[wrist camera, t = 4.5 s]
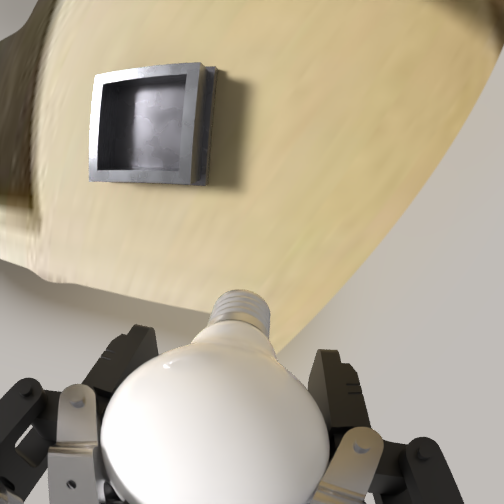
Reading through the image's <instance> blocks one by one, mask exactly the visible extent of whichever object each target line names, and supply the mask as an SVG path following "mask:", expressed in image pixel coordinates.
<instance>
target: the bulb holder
mask: <svg viewBox="0 0 504 504" xmlns="http://www.w3.org/2000/svg"><path fill="white" fill-rule="evenodd" d="M217 71H218V69H217V68H216V67H205V66H204V65H203V64H202V63H201V62H198V63H179V64H166V65H156V66H148V67H140V68H133V69H127V70H121V71H115V72H110V73H105V74H100V75H95V82H94V90H93V99H92V109H91V121H90V139H89V182H139V183H165V184H184V185H201V186H206V185H208V175H209V159H210V145H211V133H212V121H213V110H214V99H215V89H216V80H217Z"/></svg>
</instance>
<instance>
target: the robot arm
mask: <svg viewBox="0 0 504 504" xmlns="http://www.w3.org/2000/svg"><path fill="white" fill-rule="evenodd" d="M156 356H158V349H157V342H156V336H155V330H154V329H153V328H152V327H147V326H142V325H137V324H136V325H134V326H133V327H132V328H131V330H130V331H129V333H128V334H127V335H125V334H121V335H120V336H118V337H117V338H115V339H114V340H112V341H111V343H110V344H109V345H108V347H107V348H106V351H104V352H103V354H102V355H101V358H99V359H98V361H97V363H96V364H95V365H94V367H93V368H92V370H91V371H90V372H89V374H88V375H87V377H86V378H85V380H84V381H83V382H82V384H74V385H71V386H69V387H67V388H65V389H64V390H63V391H62V392H57V391H49V390H43V388H42V386H41V385H40V383H39V382H38V381H37V380H35V379H33V378H24V379H21V380H19V381H18V382H17V383H16V384H15V385H14V386H13V387H12V388H11V389H10V390H9V391H8V392H7V393H6V394H5V395H4V396H3V397H2V398H1V399H0V504H24V501H25V499H26V498H27V497H28V495H29V494H30V492H31V491H32V489H33V488H34V486H35V485H36V483H37V482H38V481H39V479H40V478H41V476H42V475H43V473H44V472H45V471H46V469H47V468H48V486H49V500H50V504H129V503H128V502H127V501H126V500H125V501H124V502H123V501H121V500H120V498H119V497H118V495H117V494H116V492H115V491H114V489H113V487H112V486H111V484H110V482H109V479H108V477H107V474H106V471H105V468H104V465H103V461H102V456H101V449H100V433H101V426H102V421H103V417H104V413H105V410H106V408H107V405H108V403H109V401H110V399H111V397H112V396H113V394H114V392H115V391H116V389H117V388H118V387H119V385H120V384H121V383H122V382H123V381H124V379H125V378H126V377H127V376H128V375H129V374H130V373H132V372H133V371H134V370H135V369H136V368H138V367H139V366H141V365H142V364H143V363H145V362H147V361H148V360H150V359H152V358H154V357H156ZM308 391H309V392H310V394H311V395H312V397H313V398H314V400H315V401H316V403H317V405H318V406H319V408H320V410H321V413H322V415H323V417H324V420H325V423H326V426H327V430H328V435H329V442H330V459H329V465H328V467H327V469H326V471H325V473H324V475H323V477H322V479H321V481H320V483H319V485H318V486H317V488H316V490H315V491H314V493H313V494H312V496H311V497H310V499H309V501H308V502H307V503H306V504H366V503H365V502H364V499H365V496H366V494H367V492H369V493H373V496H374V500H375V503H376V504H464V502H463V500H462V497H461V495H460V492H459V490H458V487H457V485H456V483H455V480H454V478H453V475H452V473H451V471H450V469H449V467H448V465H447V462H446V460H445V458H444V456H443V453H442V451H441V449H440V447H439V445H438V444H437V443H436V442H435V441H434V440H432V439H430V438H427V437H419V438H415V439H414V440H412V441H411V442H410V443H409V444H408V445H406V444H400V443H393V442H389V441H385V440H383V439H382V437H381V436H380V435H379V434H378V433H377V432H376V431H375V430H373V429H372V428H371V425H370V421H369V417H368V413H367V409H366V405H365V401H364V397H363V394H362V389H361V386H360V382H359V378H358V375H357V372H356V371H355V370H354V369H353V367H352V366H351V365H350V364H349V363H346V364H345V363H341V360H340V355H339V352H338V351H337V350H324V349H318V351H317V353H316V356H315V360H314V363H313V367H312V370H311V373H310V377H309V382H308ZM30 425H32V426H33V428H32V429H31V430H30V431H29V433H28V434H27V435H26V436H25V438H24V439H23V440H22V441H21V442H20V444H19V445H18V446H17V447H16V448H15V443H16V442H17V440H18V439H19V438H20V437H21V436H22V434H23V433H24V432H25V431H26V429H27V428H28V427H29V426H30Z"/></svg>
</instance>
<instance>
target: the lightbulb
mask: <svg viewBox="0 0 504 504" xmlns="http://www.w3.org/2000/svg"><path fill="white" fill-rule="evenodd" d="M269 329H270V309H269V307H268V305H267V303H266V302H265V300H264V299H263V298H262V297H260V296H259V295H258V294H256V293H254V292H251V291H248V290H231V291H228V292H226V293H224V294H223V295H221V296H220V297H219V298H218V299H217V301H216V303H215V305H214V307H213V310H212V313H211V316H210V319H209V322H208V324H207V327H206V328H205V329H204V330H202V331H201V332H200V333H199V334H198V335H197V336H196V337H195V338H194V339H193V341H192V342H191V343H190V345H186V346H182V347H179V348H176V349H173V350H170V351H167V352H165V353H162V354H160V355H158V356H156V357H154V358H152V359H150V360H148V361H147V362H145V363H143V364H142V365H141V366H139V367H138V368H136V369H135V370H134V371H133V372H132V373H130V374H129V375H128V376H127V377H126V378H125V379H124V381H123V382H122V383H121V384H120V385H119V387H118V388H117V389H116V391H115V392H114V394H113V396H112V397H111V399H110V401H109V403H108V405H107V408H106V410H105V413H104V417H103V421H102V426H101V433H100V449H101V456H102V461H103V465H104V468H105V471H106V474H107V477H108V479H109V482H110V484H111V486H112V487H113V489H114V491H115V492H116V494H117V495H118V497H119V498H120V500H121V501H123V502H124V501H125V500H126V501H127V502H128V503H129V504H306V503H307V502H308V501H309V499H310V497H311V496H312V494H313V493H314V491H315V490H316V488H317V486H318V485H319V483H320V481H321V479H322V477H323V475H324V473H325V471H326V469H327V467H328V465H329V459H330V442H329V435H328V430H327V426H326V423H325V420H324V417H323V415H322V413H321V410H320V408H319V406H318V405H317V403H316V401H315V400H314V398H313V397H312V395H311V394H310V392H309V391H308V390H307V389H306V387H305V386H304V385H303V384H302V383H301V382H300V381H299V380H298V379H297V378H296V377H295V376H294V375H293V374H292V373H291V372H290V371H288V370H287V369H286V368H285V367H284V366H282V365H281V364H280V363H278V361H277V357H276V353H275V351H274V348H273V346H272V344H271V342H270V341H269Z"/></svg>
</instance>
